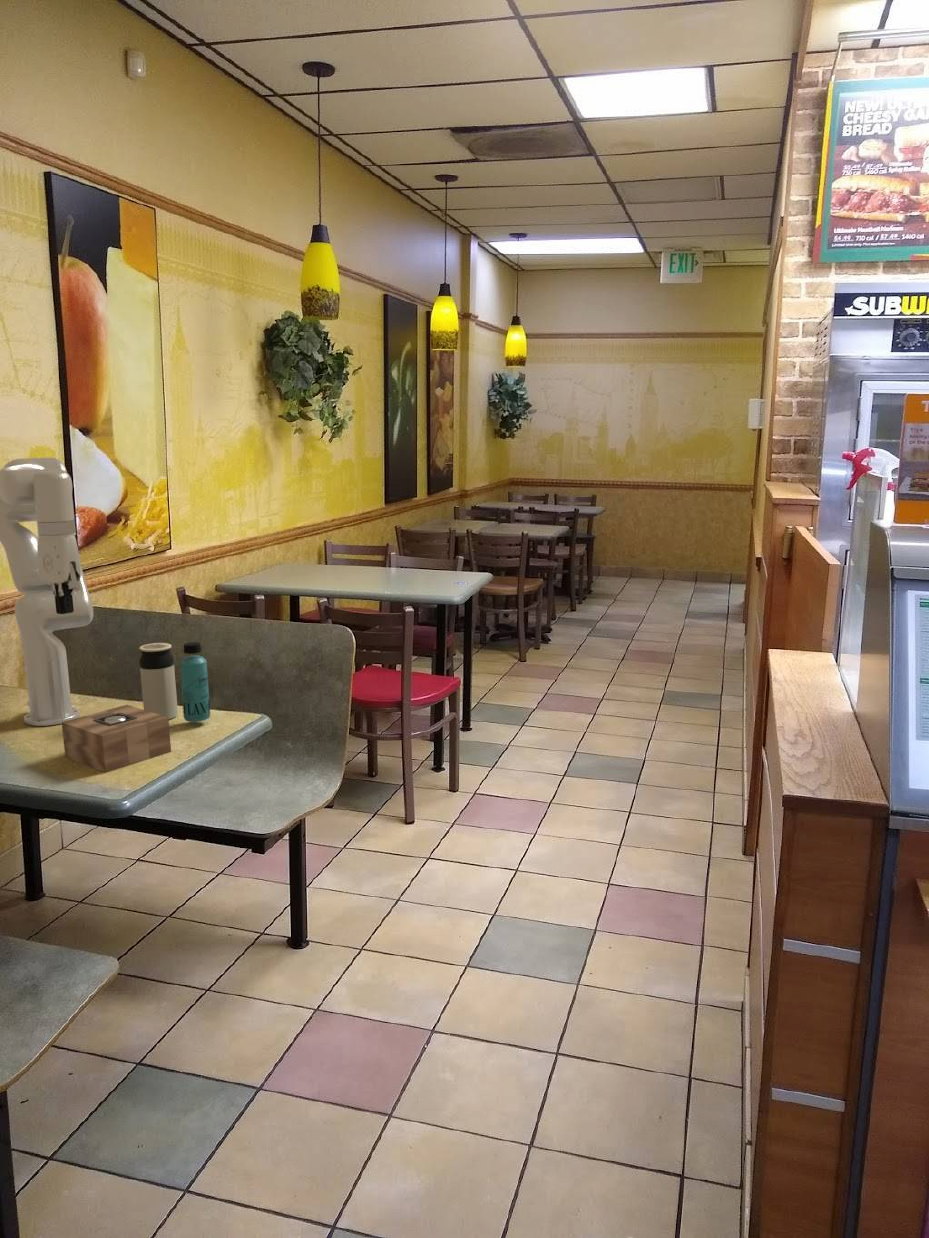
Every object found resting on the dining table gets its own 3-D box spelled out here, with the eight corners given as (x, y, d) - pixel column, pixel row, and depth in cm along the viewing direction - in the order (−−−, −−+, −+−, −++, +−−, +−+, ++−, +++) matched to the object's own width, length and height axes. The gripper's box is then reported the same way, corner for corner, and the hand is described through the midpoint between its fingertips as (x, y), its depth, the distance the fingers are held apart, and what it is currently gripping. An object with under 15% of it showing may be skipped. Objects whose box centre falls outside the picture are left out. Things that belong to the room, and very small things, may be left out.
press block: (65, 757, 215) (61, 721, 214) (129, 737, 228) (126, 703, 226) (106, 772, 206) (102, 735, 204) (171, 751, 218) (168, 716, 216)
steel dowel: (103, 753, 216) (100, 719, 215) (121, 747, 220) (118, 714, 218) (115, 757, 214) (111, 722, 212) (132, 751, 217) (129, 717, 215)
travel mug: (168, 722, 239) (162, 650, 235) (138, 721, 240) (131, 649, 237) (183, 712, 246) (178, 643, 243) (154, 711, 248) (148, 642, 244)
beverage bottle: (179, 727, 235) (172, 646, 230) (190, 719, 241) (184, 639, 237) (205, 728, 234) (199, 646, 230) (215, 719, 240) (210, 640, 236)
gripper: (22, 528, 213) (31, 612, 216) (58, 533, 203) (67, 620, 207) (54, 525, 218) (63, 606, 222) (91, 529, 209) (99, 614, 213)
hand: (65, 612), depth 215 cm, fingers closed
